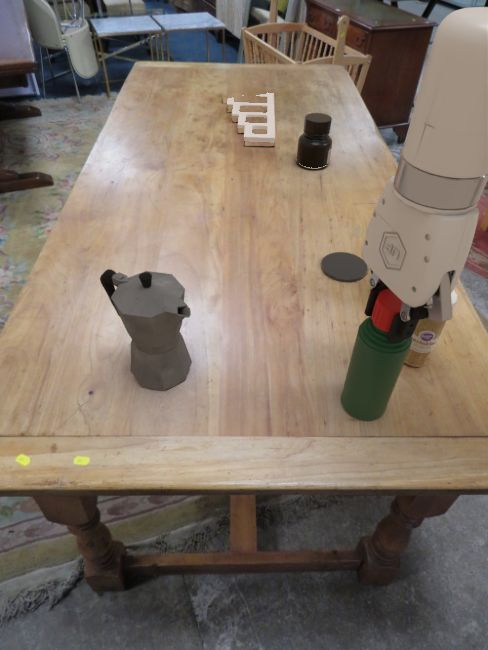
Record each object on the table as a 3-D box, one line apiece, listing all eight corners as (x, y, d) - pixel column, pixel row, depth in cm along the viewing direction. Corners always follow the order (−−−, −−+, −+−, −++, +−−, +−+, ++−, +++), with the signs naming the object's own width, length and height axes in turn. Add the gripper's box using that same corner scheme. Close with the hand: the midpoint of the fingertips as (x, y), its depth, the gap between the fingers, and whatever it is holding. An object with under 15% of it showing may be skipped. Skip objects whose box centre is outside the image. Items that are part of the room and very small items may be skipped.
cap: (364, 313, 52) (369, 293, 50) (393, 305, 53) (400, 284, 51) (384, 337, 49) (391, 316, 47) (415, 327, 50) (423, 307, 48)
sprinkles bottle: (402, 368, 67) (430, 304, 58) (394, 346, 71) (419, 282, 61) (431, 368, 68) (464, 303, 58) (422, 346, 71) (451, 282, 61)
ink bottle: (335, 167, 117) (343, 121, 109) (308, 173, 114) (314, 126, 106) (316, 153, 123) (322, 109, 115) (289, 159, 120) (293, 113, 112)
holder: (274, 147, 126) (275, 137, 124) (212, 145, 126) (212, 135, 124) (273, 96, 158) (273, 88, 156) (223, 95, 158) (223, 86, 156)
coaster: (365, 256, 88) (366, 254, 88) (368, 284, 82) (368, 282, 81) (321, 252, 89) (321, 249, 89) (320, 279, 83) (320, 276, 82)
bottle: (384, 386, 65) (420, 288, 51) (387, 423, 60) (428, 326, 47) (340, 381, 65) (364, 283, 52) (340, 417, 61) (367, 320, 47)
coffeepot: (214, 366, 67) (210, 273, 54) (175, 409, 61) (160, 316, 49) (139, 326, 73) (120, 234, 60) (98, 362, 67) (66, 269, 54)
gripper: (353, 148, 43) (325, 289, 56) (472, 236, 32) (403, 386, 45) (415, 139, 45) (374, 277, 58) (546, 219, 34) (460, 367, 47)
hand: (387, 324), depth 52 cm, fingers closed on cap, 3 cm apart
